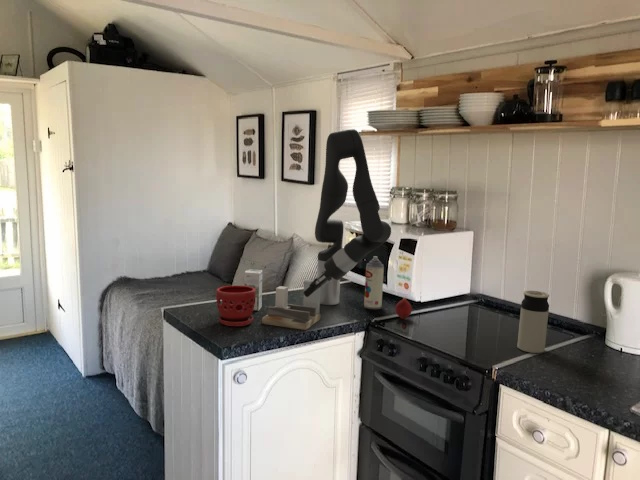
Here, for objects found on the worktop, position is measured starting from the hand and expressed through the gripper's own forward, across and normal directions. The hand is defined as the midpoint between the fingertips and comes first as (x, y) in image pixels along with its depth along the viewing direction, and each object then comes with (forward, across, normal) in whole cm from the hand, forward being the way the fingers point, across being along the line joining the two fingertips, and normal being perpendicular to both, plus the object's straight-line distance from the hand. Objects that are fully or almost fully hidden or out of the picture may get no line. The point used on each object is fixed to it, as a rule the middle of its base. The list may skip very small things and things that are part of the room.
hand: (305, 294), depth 184 cm
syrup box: (+24, -8, -10) cm, 27 cm away
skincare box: (+10, -14, +5) cm, 18 cm away
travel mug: (-44, -8, +59) cm, 74 cm away
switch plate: (+11, 0, +4) cm, 11 cm away
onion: (-14, -21, +28) cm, 38 cm away
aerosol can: (-4, -32, +18) cm, 37 cm away
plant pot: (+22, +10, -8) cm, 26 cm away
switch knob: (+12, 0, -1) cm, 12 cm away
